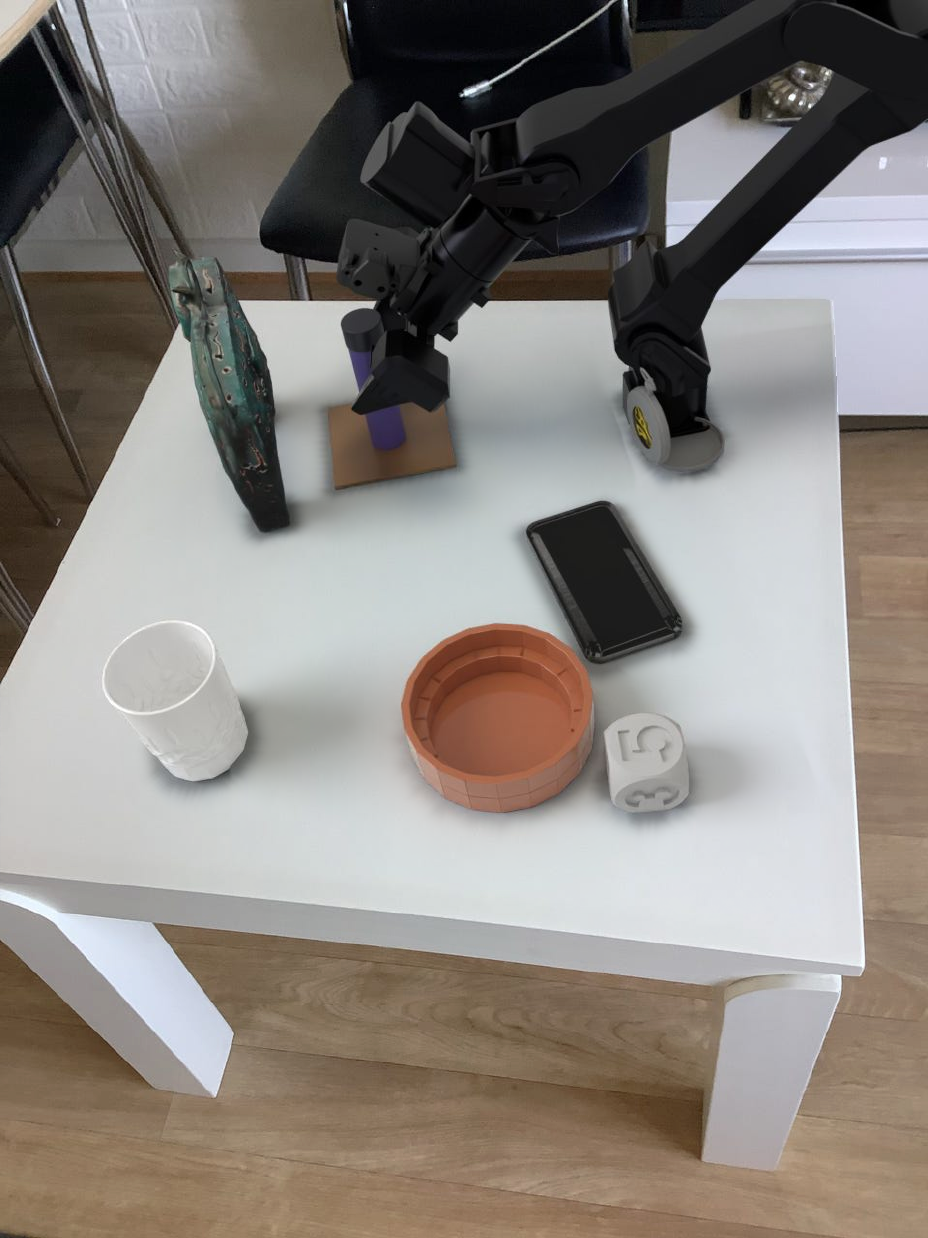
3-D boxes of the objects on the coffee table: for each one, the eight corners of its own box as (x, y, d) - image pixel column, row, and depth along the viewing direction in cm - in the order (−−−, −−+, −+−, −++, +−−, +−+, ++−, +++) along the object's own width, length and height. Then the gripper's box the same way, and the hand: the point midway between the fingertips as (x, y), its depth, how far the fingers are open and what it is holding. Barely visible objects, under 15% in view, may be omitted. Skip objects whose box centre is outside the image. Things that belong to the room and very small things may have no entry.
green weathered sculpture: (217, 405, 104) (143, 220, 88) (280, 388, 104) (219, 201, 89) (243, 545, 91) (163, 358, 76) (315, 524, 92) (250, 335, 76)
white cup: (274, 711, 80) (235, 631, 72) (227, 800, 76) (181, 725, 68) (185, 690, 82) (138, 610, 74) (134, 775, 78) (79, 700, 70)
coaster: (440, 389, 101) (440, 385, 101) (456, 466, 94) (455, 463, 94) (328, 410, 101) (327, 407, 101) (335, 489, 94) (334, 486, 94)
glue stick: (414, 439, 96) (388, 320, 86) (382, 456, 95) (353, 338, 85) (394, 420, 98) (367, 302, 88) (364, 437, 97) (333, 319, 87)
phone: (589, 661, 78) (521, 525, 87) (590, 670, 78) (523, 534, 88) (688, 628, 78) (610, 496, 88) (688, 637, 79) (611, 505, 88)
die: (603, 754, 74) (602, 715, 70) (675, 747, 74) (677, 708, 70) (613, 818, 71) (612, 781, 67) (687, 811, 71) (691, 773, 67)
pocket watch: (737, 439, 92) (746, 345, 84) (689, 499, 88) (694, 406, 80) (655, 410, 96) (657, 317, 88) (606, 466, 92) (603, 374, 84)
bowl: (573, 645, 80) (570, 608, 77) (612, 796, 72) (611, 762, 68) (403, 677, 80) (393, 642, 77) (423, 831, 72) (412, 799, 69)
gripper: (389, 131, 84) (289, 267, 94) (377, 265, 72) (264, 405, 82) (497, 210, 89) (391, 331, 99) (502, 347, 78) (382, 469, 87)
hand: (358, 379), depth 92 cm, fingers open, 8 cm apart
